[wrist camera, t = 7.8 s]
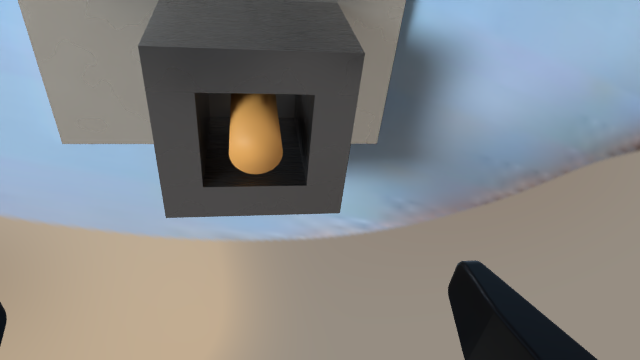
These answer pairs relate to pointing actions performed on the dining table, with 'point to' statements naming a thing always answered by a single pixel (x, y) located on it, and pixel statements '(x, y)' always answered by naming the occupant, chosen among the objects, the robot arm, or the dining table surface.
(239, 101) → the post
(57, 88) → the tie plate
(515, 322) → the robot arm
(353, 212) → the dining table surface
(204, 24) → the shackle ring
